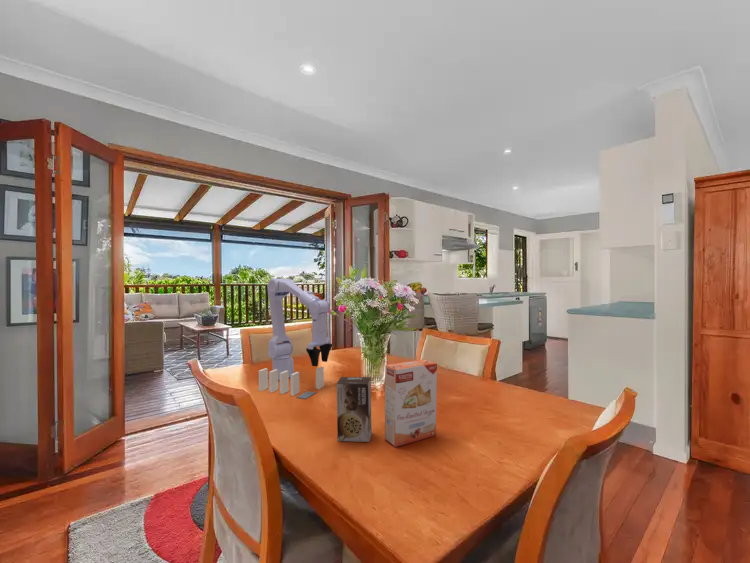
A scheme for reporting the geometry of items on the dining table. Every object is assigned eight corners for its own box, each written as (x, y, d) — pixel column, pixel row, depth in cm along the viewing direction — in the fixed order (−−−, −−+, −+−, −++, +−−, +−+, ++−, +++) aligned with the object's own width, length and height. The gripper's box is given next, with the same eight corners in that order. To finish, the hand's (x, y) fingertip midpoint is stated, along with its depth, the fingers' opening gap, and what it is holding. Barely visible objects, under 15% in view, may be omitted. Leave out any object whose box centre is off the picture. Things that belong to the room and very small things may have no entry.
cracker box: (396, 448, 92) (395, 369, 91) (384, 439, 97) (383, 364, 97) (437, 436, 99) (437, 362, 98) (424, 428, 104) (424, 358, 104)
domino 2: (275, 389, 140) (275, 369, 140) (278, 389, 140) (278, 369, 140) (269, 392, 137) (268, 371, 137) (271, 392, 136) (271, 372, 136)
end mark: (306, 392, 137) (306, 391, 137) (315, 393, 135) (315, 392, 135) (296, 397, 130) (296, 397, 130) (305, 399, 129) (305, 398, 129)
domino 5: (321, 386, 144) (321, 366, 144) (323, 386, 144) (323, 366, 144) (316, 389, 140) (315, 369, 140) (318, 389, 140) (318, 369, 140)
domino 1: (265, 387, 142) (265, 368, 142) (267, 388, 142) (267, 368, 142) (258, 390, 139) (258, 370, 138) (261, 391, 138) (261, 370, 138)
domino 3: (286, 390, 139) (285, 370, 138) (288, 391, 138) (288, 370, 138) (279, 393, 135) (279, 373, 135) (282, 394, 134) (282, 373, 134)
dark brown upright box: (372, 432, 102) (371, 376, 101) (369, 442, 95) (369, 383, 95) (341, 431, 102) (340, 376, 102) (336, 441, 96) (335, 382, 96)
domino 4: (296, 392, 137) (296, 371, 137) (299, 392, 136) (299, 372, 136) (290, 395, 133) (290, 374, 133) (293, 395, 133) (293, 374, 132)
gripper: (318, 333, 133) (319, 369, 134) (336, 328, 147) (337, 360, 147) (302, 332, 136) (303, 367, 136) (322, 327, 150) (322, 359, 150)
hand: (319, 363), depth 142 cm, fingers open, 7 cm apart
